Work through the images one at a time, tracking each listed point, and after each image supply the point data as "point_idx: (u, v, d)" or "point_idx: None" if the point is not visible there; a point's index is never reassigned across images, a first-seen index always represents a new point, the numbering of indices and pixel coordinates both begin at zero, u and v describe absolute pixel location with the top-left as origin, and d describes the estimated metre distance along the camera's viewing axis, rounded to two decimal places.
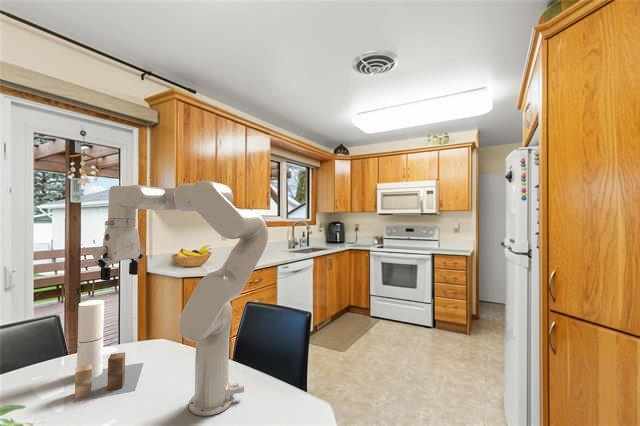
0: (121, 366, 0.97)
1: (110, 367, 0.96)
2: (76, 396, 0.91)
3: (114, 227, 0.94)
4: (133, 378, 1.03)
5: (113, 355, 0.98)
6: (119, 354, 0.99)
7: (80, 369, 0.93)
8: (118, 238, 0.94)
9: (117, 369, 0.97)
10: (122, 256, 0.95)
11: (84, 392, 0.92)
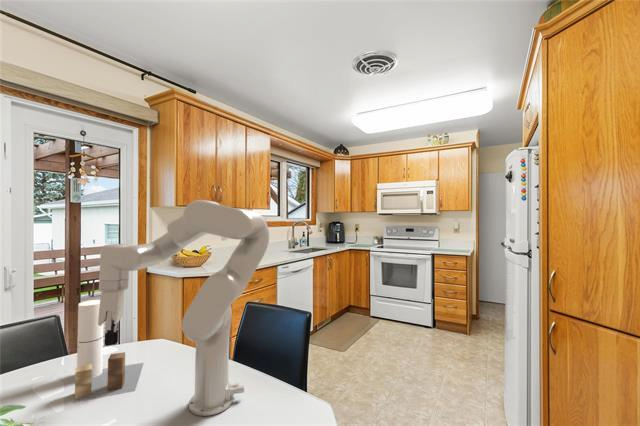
0: (121, 366, 0.97)
1: (110, 367, 0.96)
2: (76, 396, 0.91)
3: None
4: (133, 378, 1.03)
5: (113, 355, 0.98)
6: (119, 354, 0.99)
7: (80, 369, 0.93)
8: None
9: (117, 369, 0.97)
10: None
11: (84, 392, 0.92)
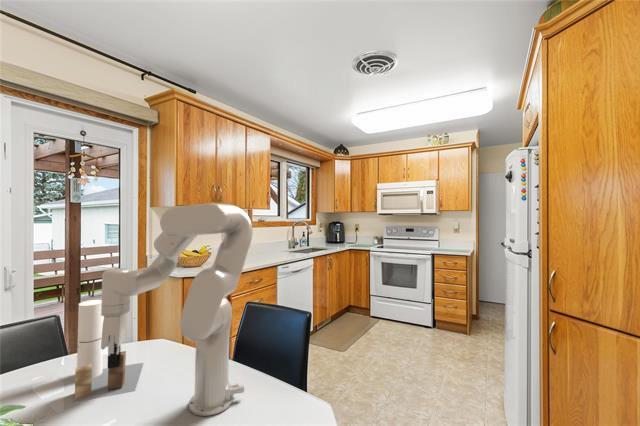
0: (122, 364, 0.98)
1: None
2: (76, 396, 0.91)
3: None
4: (133, 378, 1.03)
5: None
6: None
7: (80, 369, 0.93)
8: None
9: (117, 367, 0.97)
10: None
11: (84, 392, 0.92)
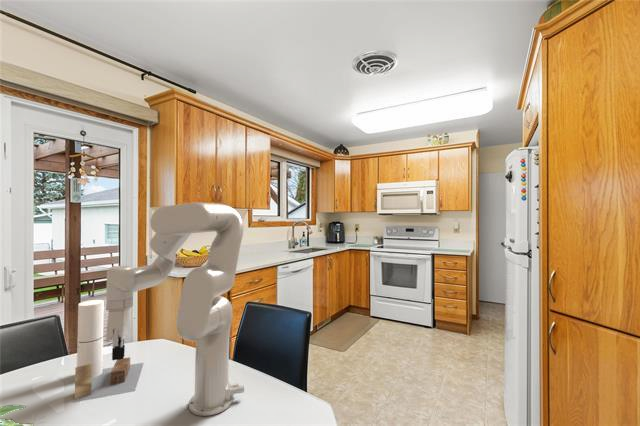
0: (127, 361, 1.07)
1: (118, 362, 1.06)
2: (76, 396, 0.91)
3: None
4: (133, 378, 1.03)
5: None
6: None
7: (80, 369, 0.93)
8: None
9: (123, 362, 1.06)
10: None
11: (84, 392, 0.92)
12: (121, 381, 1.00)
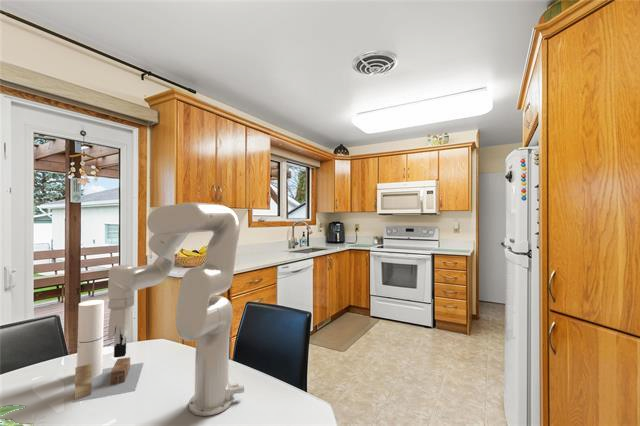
0: (127, 361, 1.07)
1: (118, 362, 1.06)
2: (76, 396, 0.91)
3: None
4: (133, 378, 1.03)
5: None
6: None
7: (80, 369, 0.93)
8: None
9: (123, 362, 1.06)
10: None
11: (84, 392, 0.92)
12: (121, 381, 1.00)
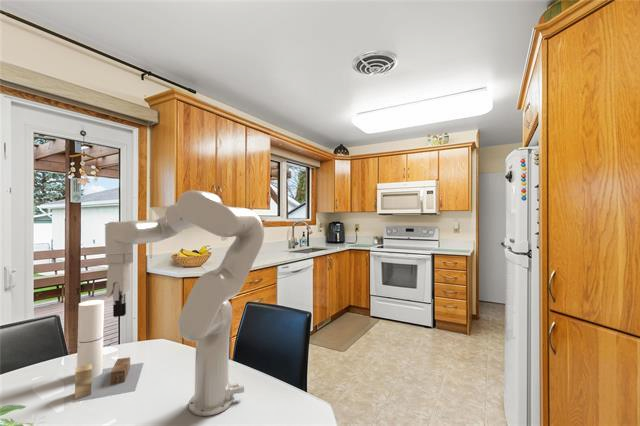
0: (127, 361, 1.07)
1: (118, 362, 1.06)
2: (76, 396, 0.91)
3: None
4: (133, 378, 1.03)
5: None
6: None
7: (80, 369, 0.93)
8: None
9: (123, 362, 1.06)
10: None
11: (84, 392, 0.92)
12: (121, 381, 1.00)
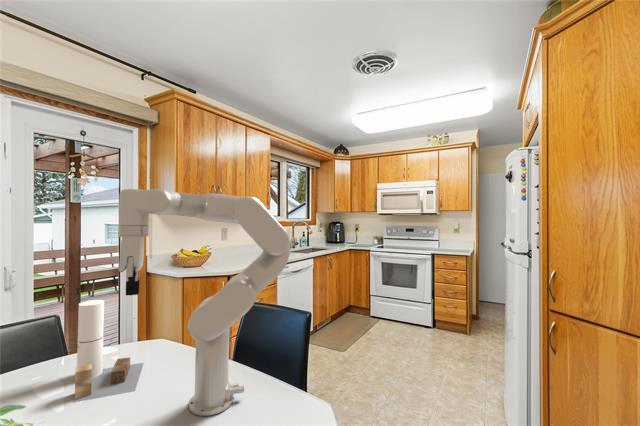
0: (127, 361, 1.07)
1: (118, 362, 1.06)
2: (76, 396, 0.91)
3: None
4: (133, 378, 1.03)
5: None
6: None
7: (80, 369, 0.93)
8: None
9: (123, 362, 1.06)
10: None
11: (84, 392, 0.92)
12: (121, 381, 1.00)
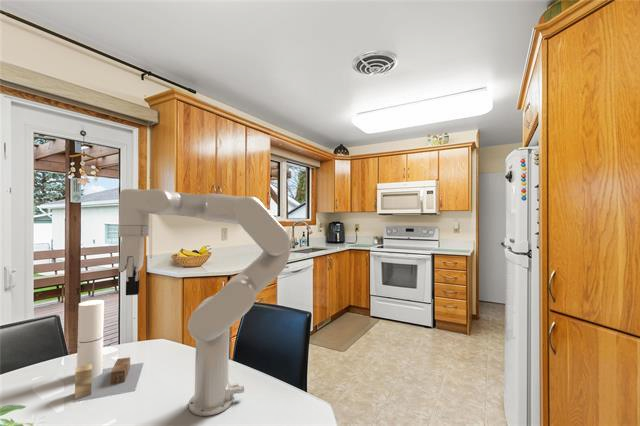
0: (127, 361, 1.07)
1: (118, 362, 1.06)
2: (76, 396, 0.91)
3: None
4: (133, 378, 1.03)
5: None
6: None
7: (80, 369, 0.93)
8: None
9: (123, 362, 1.06)
10: None
11: (84, 392, 0.92)
12: (121, 381, 1.00)
